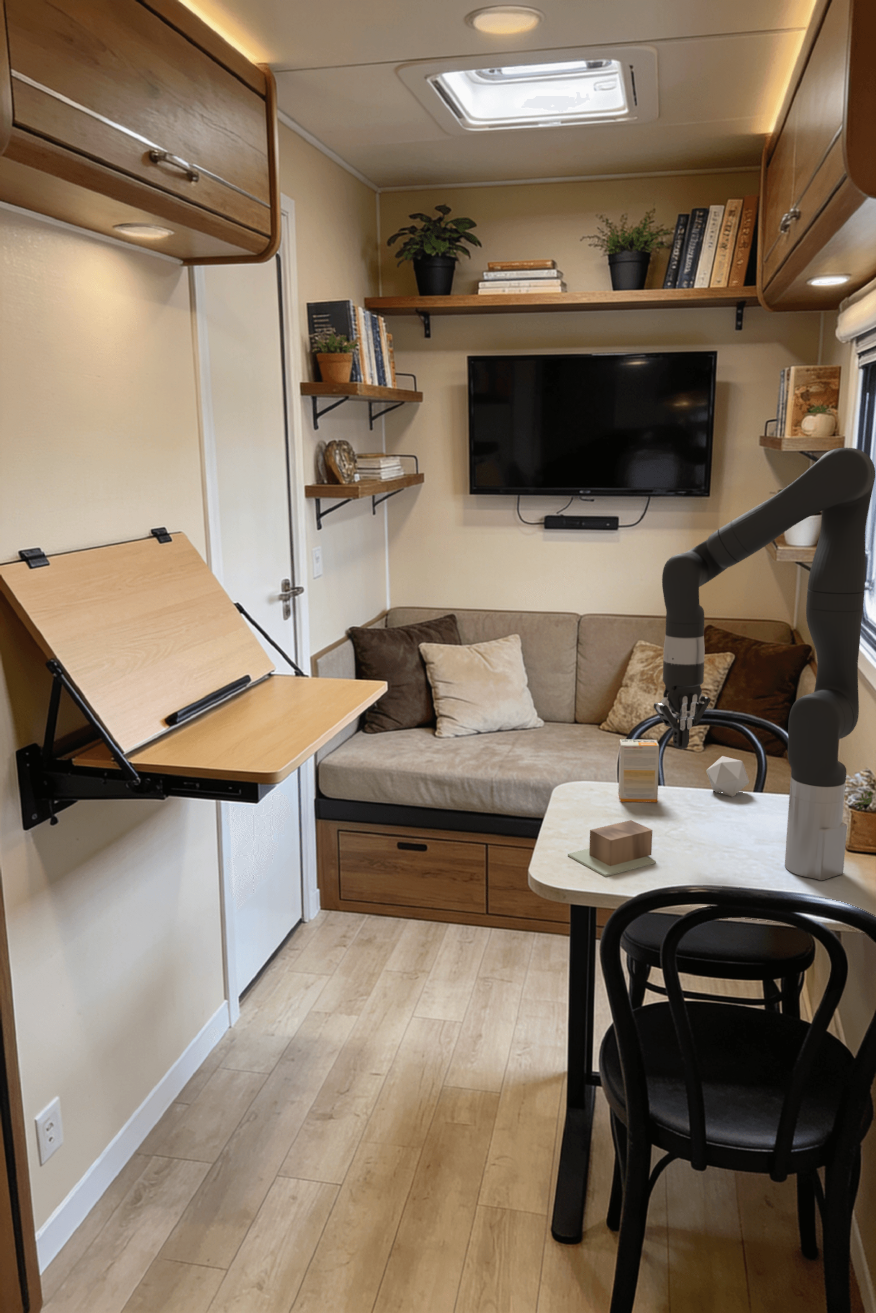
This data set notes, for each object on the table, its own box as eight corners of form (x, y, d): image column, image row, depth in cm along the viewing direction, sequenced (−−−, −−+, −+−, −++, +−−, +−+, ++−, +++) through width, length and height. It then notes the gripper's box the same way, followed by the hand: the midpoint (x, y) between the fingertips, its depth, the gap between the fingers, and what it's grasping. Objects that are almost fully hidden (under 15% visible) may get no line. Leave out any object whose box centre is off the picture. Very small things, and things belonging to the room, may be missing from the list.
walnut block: (652, 829, 186) (610, 840, 181) (651, 855, 187) (610, 866, 182) (630, 820, 191) (590, 829, 187) (630, 844, 192) (589, 854, 188)
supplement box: (655, 795, 221) (657, 739, 218) (657, 803, 216) (660, 745, 214) (617, 794, 222) (619, 738, 219) (619, 802, 217) (621, 744, 214)
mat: (655, 862, 185) (655, 860, 185) (605, 876, 179) (605, 874, 179) (617, 843, 194) (617, 841, 194) (567, 855, 188) (567, 853, 188)
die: (755, 796, 222) (744, 755, 226) (747, 788, 215) (736, 746, 219) (718, 805, 225) (708, 765, 229) (710, 797, 218) (700, 755, 222)
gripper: (671, 666, 181) (668, 757, 184) (723, 658, 187) (720, 747, 191) (643, 659, 187) (641, 748, 190) (694, 652, 194) (692, 738, 197)
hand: (680, 747), depth 190 cm, fingers closed
